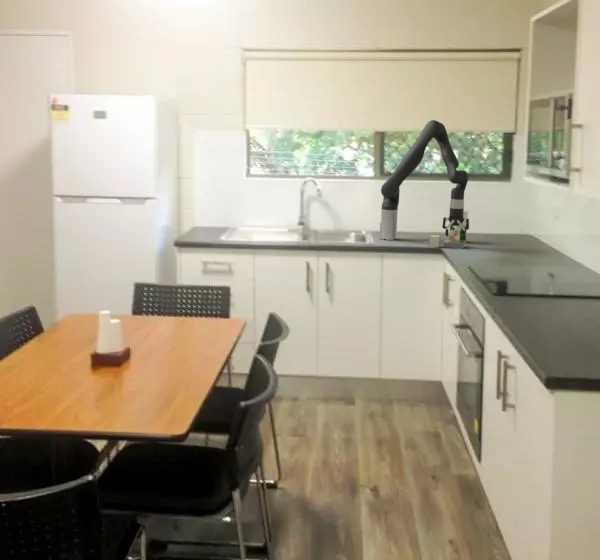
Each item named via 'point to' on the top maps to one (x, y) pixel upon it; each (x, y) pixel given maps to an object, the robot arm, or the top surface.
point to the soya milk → (460, 227)
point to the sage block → (434, 241)
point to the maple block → (454, 235)
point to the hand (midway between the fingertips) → (455, 236)
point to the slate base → (454, 244)
